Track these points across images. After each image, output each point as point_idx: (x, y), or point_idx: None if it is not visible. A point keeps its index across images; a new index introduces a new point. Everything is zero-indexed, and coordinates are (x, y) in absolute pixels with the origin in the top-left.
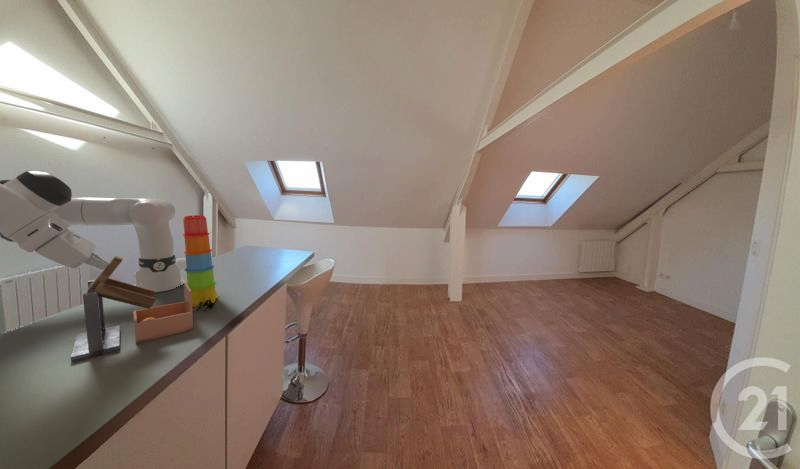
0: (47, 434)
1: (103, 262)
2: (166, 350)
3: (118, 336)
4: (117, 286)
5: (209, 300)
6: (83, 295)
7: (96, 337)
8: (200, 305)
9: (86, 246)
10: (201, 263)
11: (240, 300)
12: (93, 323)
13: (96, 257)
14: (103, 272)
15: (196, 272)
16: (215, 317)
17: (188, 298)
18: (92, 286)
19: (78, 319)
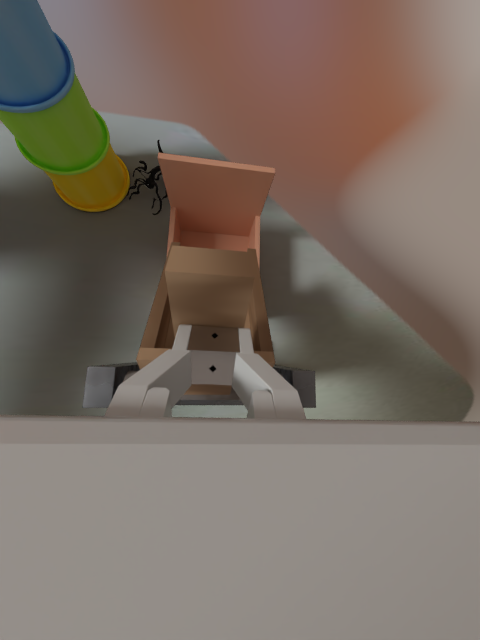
0: (433, 405)
1: (252, 344)
2: (308, 285)
3: None
4: (166, 320)
5: (159, 166)
6: (313, 406)
7: None
8: (156, 190)
9: (173, 513)
10: (43, 27)
11: (150, 121)
12: None
13: (163, 383)
14: None
15: (64, 93)
16: None
17: (249, 192)
18: (230, 387)
19: (9, 412)
